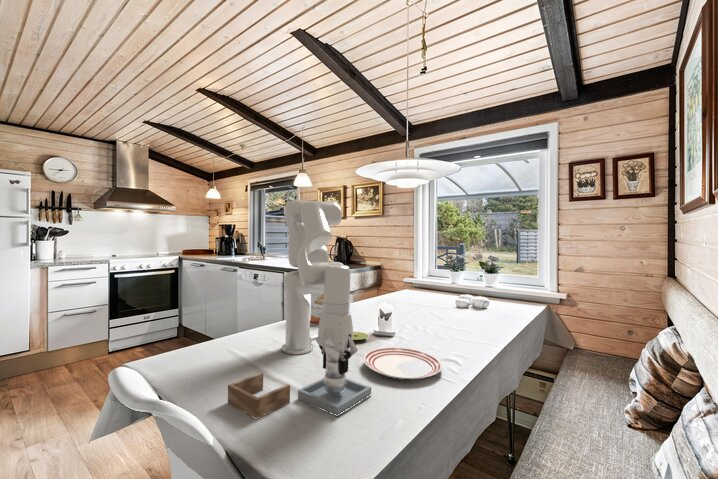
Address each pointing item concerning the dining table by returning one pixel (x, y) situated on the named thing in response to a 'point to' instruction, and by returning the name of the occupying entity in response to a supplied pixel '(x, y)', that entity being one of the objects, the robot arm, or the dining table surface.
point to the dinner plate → (398, 361)
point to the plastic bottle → (333, 370)
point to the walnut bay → (254, 405)
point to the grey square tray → (334, 396)
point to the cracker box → (316, 306)
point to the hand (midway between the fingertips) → (335, 369)
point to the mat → (359, 335)
